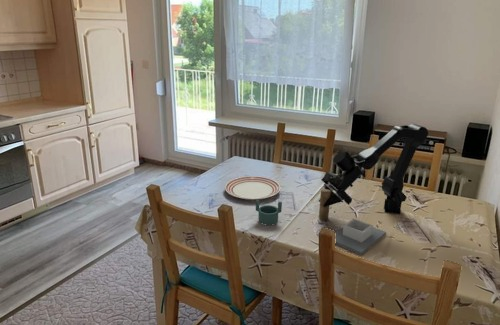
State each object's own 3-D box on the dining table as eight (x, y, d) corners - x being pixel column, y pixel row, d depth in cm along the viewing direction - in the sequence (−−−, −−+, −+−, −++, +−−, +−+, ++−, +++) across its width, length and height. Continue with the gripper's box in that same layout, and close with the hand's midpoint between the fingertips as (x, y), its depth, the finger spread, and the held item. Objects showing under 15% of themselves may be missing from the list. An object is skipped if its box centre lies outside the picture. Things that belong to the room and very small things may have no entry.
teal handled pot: (283, 222, 150) (283, 202, 148) (264, 227, 146) (265, 207, 143) (270, 213, 158) (271, 194, 155) (252, 218, 153) (253, 199, 150)
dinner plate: (272, 207, 163) (272, 201, 162) (216, 199, 172) (216, 192, 170) (285, 185, 188) (286, 179, 187) (236, 179, 196) (236, 173, 195)
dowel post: (329, 216, 155) (331, 189, 151) (327, 220, 152) (329, 193, 147) (319, 215, 156) (321, 188, 152) (317, 219, 153) (320, 191, 149)
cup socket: (353, 222, 150) (354, 211, 149) (385, 234, 141) (387, 222, 140) (326, 240, 137) (328, 228, 135) (361, 255, 128) (362, 242, 126)
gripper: (327, 158, 156) (301, 184, 157) (347, 173, 139) (318, 202, 140) (342, 174, 160) (317, 199, 161) (364, 190, 143) (335, 218, 144)
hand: (321, 204), depth 152 cm, fingers closed on dowel post, 4 cm apart
